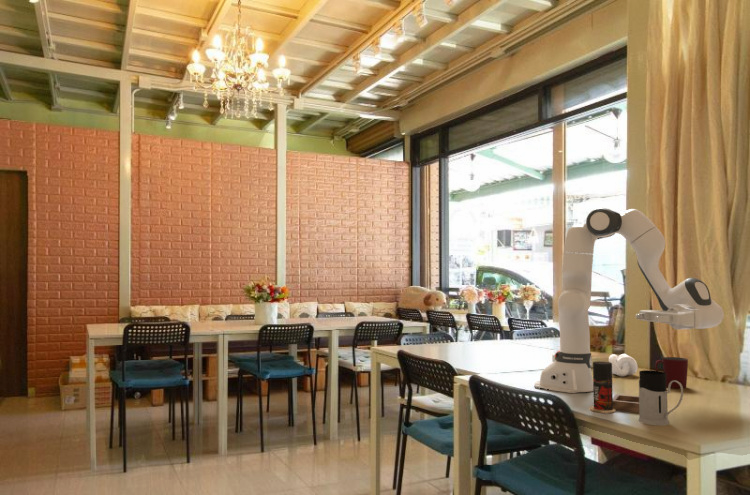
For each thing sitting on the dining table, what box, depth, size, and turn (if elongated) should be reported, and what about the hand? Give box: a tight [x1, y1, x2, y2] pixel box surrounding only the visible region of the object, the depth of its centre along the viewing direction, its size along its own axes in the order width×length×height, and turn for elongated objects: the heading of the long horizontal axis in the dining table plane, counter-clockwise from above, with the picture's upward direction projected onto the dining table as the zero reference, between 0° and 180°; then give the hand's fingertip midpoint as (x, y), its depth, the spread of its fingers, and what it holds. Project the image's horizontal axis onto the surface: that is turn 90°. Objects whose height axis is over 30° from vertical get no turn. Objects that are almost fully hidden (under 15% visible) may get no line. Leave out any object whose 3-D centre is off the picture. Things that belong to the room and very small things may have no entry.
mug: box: [654, 356, 689, 390], centre depth 234 cm, size 12×9×11 cm
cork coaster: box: [589, 405, 616, 414], centre depth 196 cm, size 8×8×1 cm
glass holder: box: [637, 369, 684, 426], centre depth 180 cm, size 9×14×15 cm, turn 28°
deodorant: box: [592, 360, 614, 411], centre depth 196 cm, size 6×6×15 cm
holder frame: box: [613, 393, 639, 414], centre depth 199 cm, size 11×11×3 cm
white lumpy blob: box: [608, 353, 638, 377], centre depth 260 cm, size 11×12×9 cm
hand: (646, 317), depth 203 cm, fingers open, 8 cm apart
